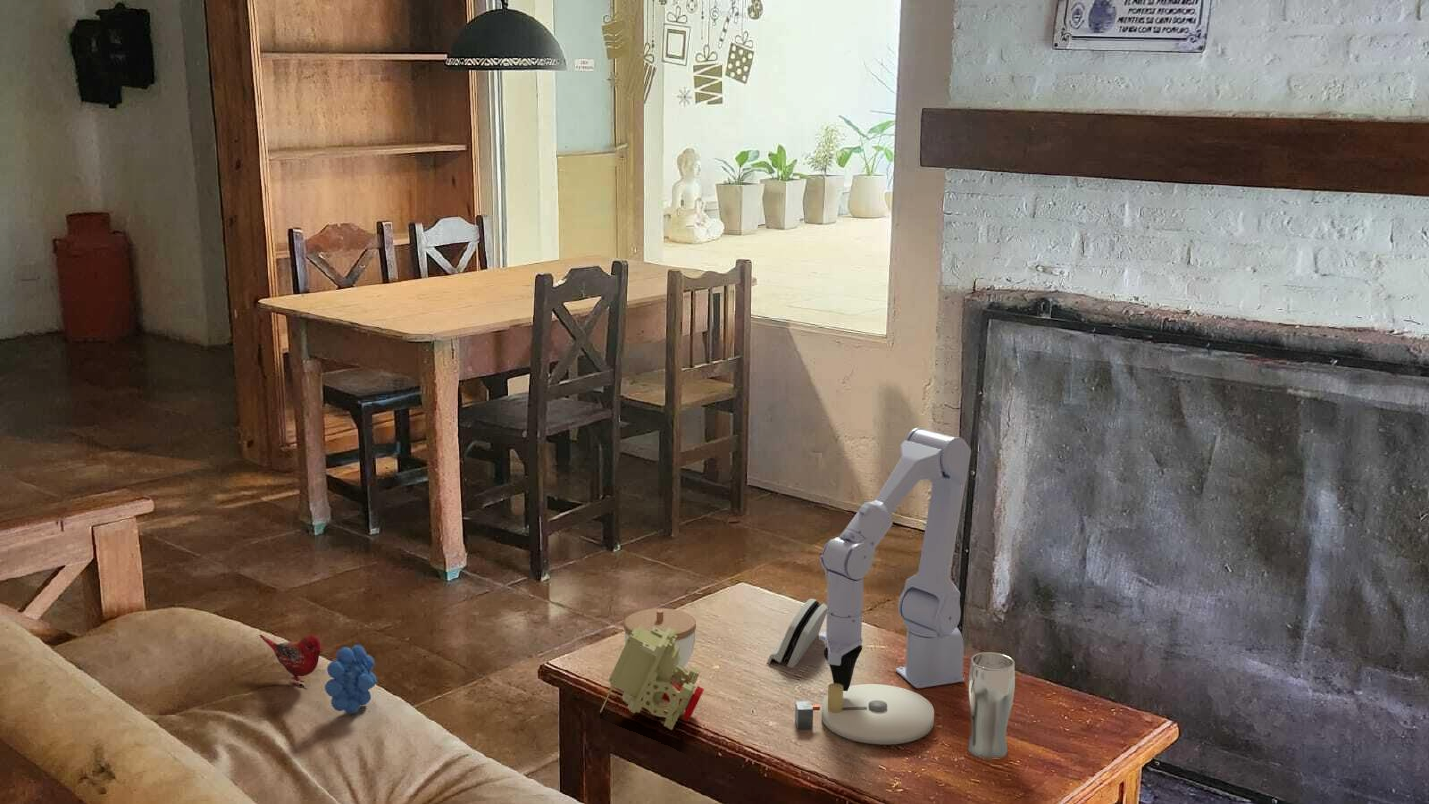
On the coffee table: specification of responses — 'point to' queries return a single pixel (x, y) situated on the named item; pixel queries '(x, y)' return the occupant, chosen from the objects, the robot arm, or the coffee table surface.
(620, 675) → the mechanical component
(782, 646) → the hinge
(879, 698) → the turntable
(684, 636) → the lidded bowl
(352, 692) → the grapes
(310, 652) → the decorative bird figurine
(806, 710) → the gray block
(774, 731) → the coffee table surface
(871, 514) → the robot arm
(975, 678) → the beer glass
